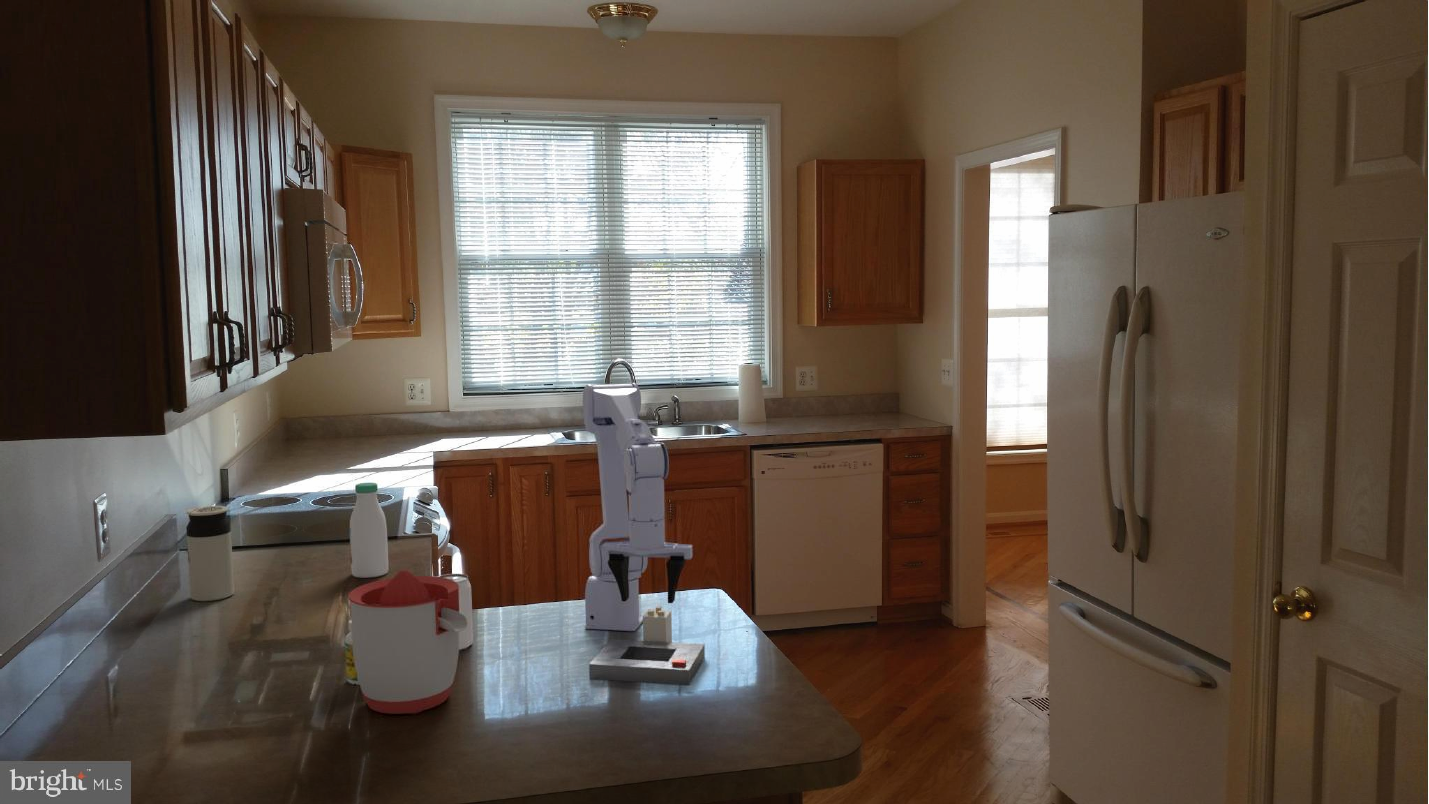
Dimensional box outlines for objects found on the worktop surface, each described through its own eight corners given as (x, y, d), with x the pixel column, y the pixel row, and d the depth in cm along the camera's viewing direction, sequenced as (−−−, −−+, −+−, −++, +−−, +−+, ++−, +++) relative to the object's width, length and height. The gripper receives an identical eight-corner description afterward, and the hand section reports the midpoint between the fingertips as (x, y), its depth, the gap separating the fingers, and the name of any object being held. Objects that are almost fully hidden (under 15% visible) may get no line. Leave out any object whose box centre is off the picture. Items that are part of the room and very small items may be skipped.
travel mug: (241, 590, 212) (236, 505, 210) (223, 602, 204) (218, 513, 202) (202, 591, 211) (196, 505, 210) (183, 602, 203) (177, 513, 202)
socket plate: (589, 678, 160) (589, 660, 160) (611, 652, 172) (611, 635, 171) (689, 685, 157) (688, 666, 157) (704, 658, 169) (704, 640, 168)
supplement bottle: (390, 677, 162) (387, 618, 161) (361, 688, 157) (358, 627, 156) (368, 671, 165) (365, 612, 164) (339, 681, 160) (336, 621, 159)
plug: (643, 650, 173) (642, 611, 172) (649, 643, 177) (648, 604, 176) (666, 652, 172) (665, 612, 171) (671, 644, 176) (671, 605, 175)
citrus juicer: (436, 729, 142) (431, 588, 140) (330, 715, 147) (323, 579, 145) (492, 688, 157) (488, 560, 155) (394, 677, 162) (389, 553, 160)
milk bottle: (396, 572, 225) (392, 482, 223) (367, 580, 218) (363, 488, 216) (372, 567, 229) (369, 479, 227) (344, 575, 222) (339, 485, 220)
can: (480, 645, 176) (478, 577, 175) (447, 655, 172) (445, 585, 170) (459, 637, 181) (457, 570, 180) (427, 646, 176) (424, 578, 175)
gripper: (596, 522, 162) (598, 606, 163) (686, 524, 159) (687, 609, 161) (608, 513, 169) (609, 593, 170) (694, 515, 166) (695, 596, 168)
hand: (648, 600), depth 166 cm, fingers open, 7 cm apart
